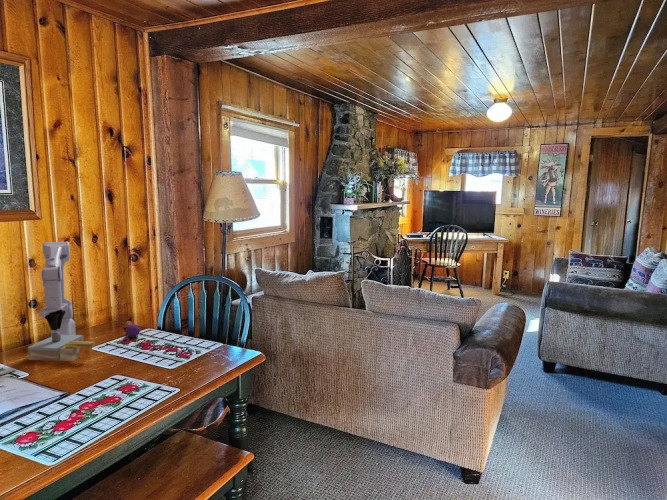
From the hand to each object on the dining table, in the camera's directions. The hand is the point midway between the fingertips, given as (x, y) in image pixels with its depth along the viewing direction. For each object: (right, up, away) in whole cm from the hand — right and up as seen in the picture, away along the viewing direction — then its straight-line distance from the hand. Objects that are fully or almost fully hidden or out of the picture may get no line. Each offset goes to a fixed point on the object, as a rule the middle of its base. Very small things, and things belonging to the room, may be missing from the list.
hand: (55, 329), depth 175 cm
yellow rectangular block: (+14, -6, -6) cm, 16 cm away
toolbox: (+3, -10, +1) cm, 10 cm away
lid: (0, -7, +1) cm, 7 cm away
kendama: (+17, -7, +28) cm, 34 cm away
